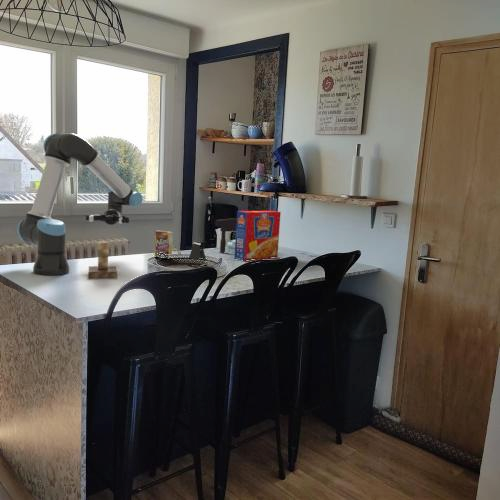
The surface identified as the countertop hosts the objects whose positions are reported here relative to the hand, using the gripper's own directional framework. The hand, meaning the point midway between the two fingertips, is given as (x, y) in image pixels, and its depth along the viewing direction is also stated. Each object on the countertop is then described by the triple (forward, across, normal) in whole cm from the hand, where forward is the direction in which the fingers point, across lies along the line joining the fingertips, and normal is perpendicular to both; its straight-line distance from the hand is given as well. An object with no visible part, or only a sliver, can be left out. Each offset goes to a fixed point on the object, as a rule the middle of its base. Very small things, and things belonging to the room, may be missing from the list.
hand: (104, 220), depth 230 cm
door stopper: (-18, -45, -22) cm, 54 cm away
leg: (+13, -2, -24) cm, 27 cm away
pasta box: (-46, -80, -21) cm, 95 cm away
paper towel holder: (-70, -70, -20) cm, 101 cm away
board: (+13, -2, -24) cm, 27 cm away
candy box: (-35, -27, -22) cm, 49 cm away
